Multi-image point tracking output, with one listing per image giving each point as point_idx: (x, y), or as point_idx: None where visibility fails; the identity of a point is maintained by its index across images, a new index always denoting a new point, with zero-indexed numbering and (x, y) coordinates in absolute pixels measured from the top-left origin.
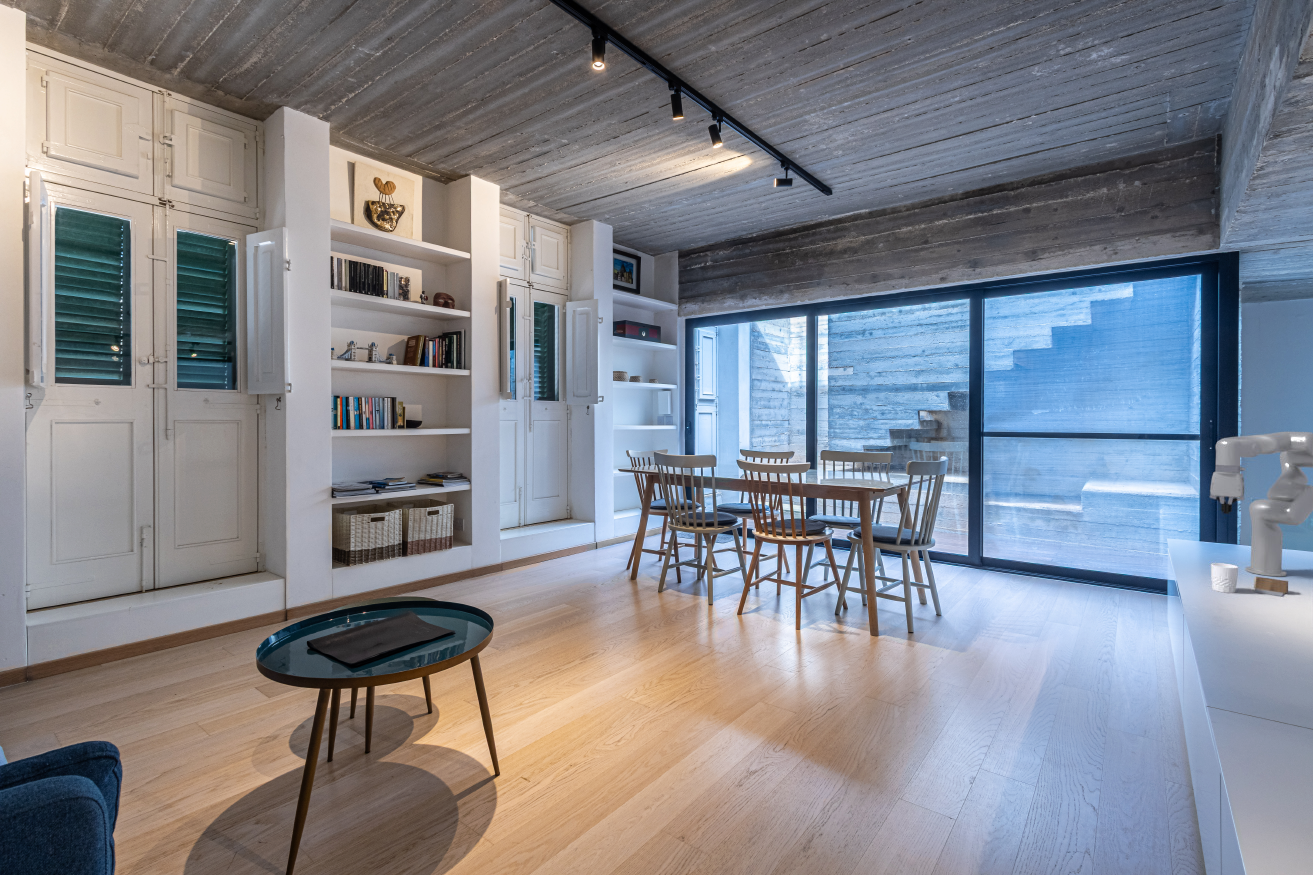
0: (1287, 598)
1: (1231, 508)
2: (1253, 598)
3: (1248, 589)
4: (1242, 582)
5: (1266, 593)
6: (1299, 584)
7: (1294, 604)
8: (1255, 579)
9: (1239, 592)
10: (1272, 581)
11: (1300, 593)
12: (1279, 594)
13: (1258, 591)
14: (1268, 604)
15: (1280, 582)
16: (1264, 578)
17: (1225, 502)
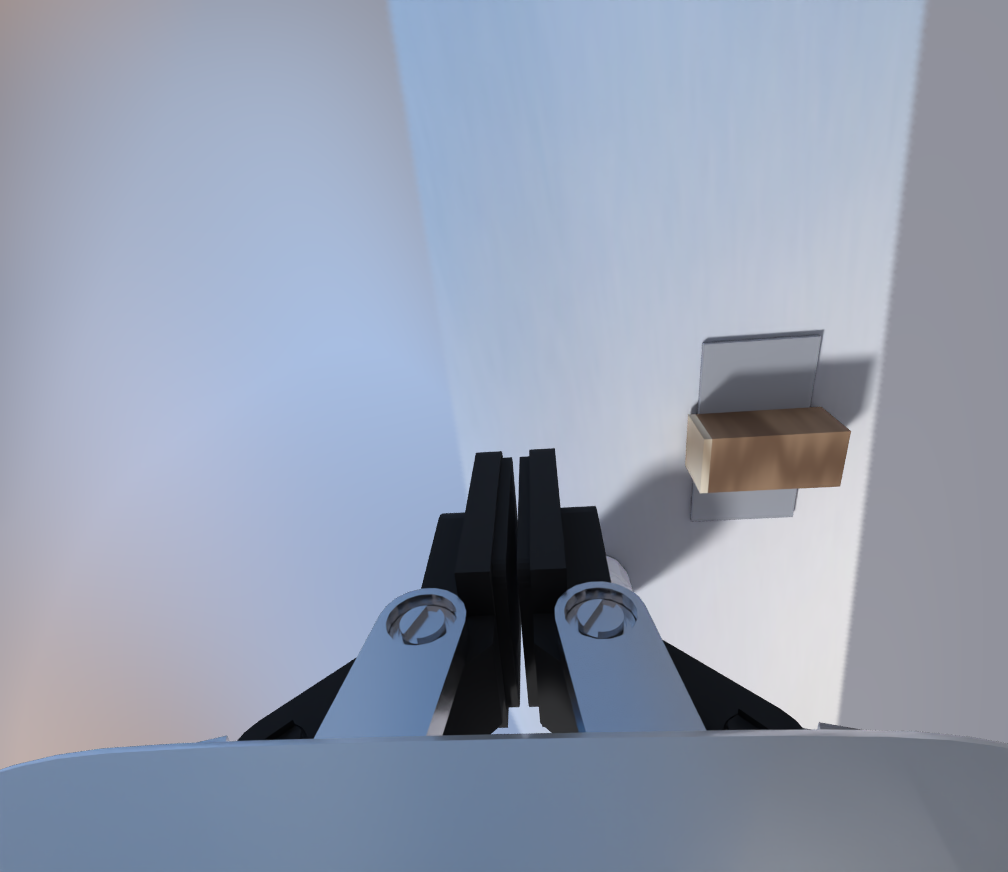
0: (809, 529)
1: (601, 546)
2: (695, 623)
3: (664, 484)
4: (622, 341)
5: (735, 517)
6: (897, 98)
7: (826, 606)
8: (703, 490)
9: (641, 568)
10: (777, 488)
11: (871, 377)
12: (783, 503)
13: (705, 513)
14: (744, 669)
15: (811, 487)
16: (743, 458)
17: (498, 703)
